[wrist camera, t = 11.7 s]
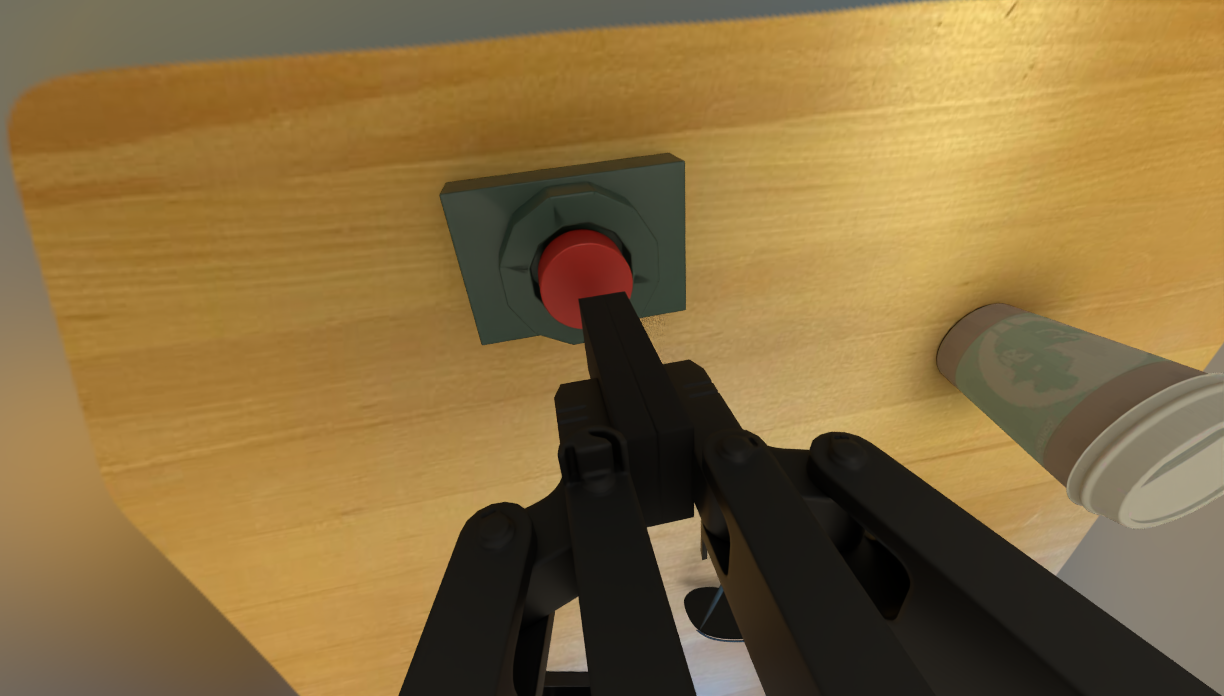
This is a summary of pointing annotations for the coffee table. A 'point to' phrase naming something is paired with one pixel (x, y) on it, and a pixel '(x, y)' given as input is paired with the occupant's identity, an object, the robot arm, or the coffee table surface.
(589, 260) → the button
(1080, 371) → the coffee cup
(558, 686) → the black lever stand
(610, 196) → the button housing
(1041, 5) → the coffee table surface
